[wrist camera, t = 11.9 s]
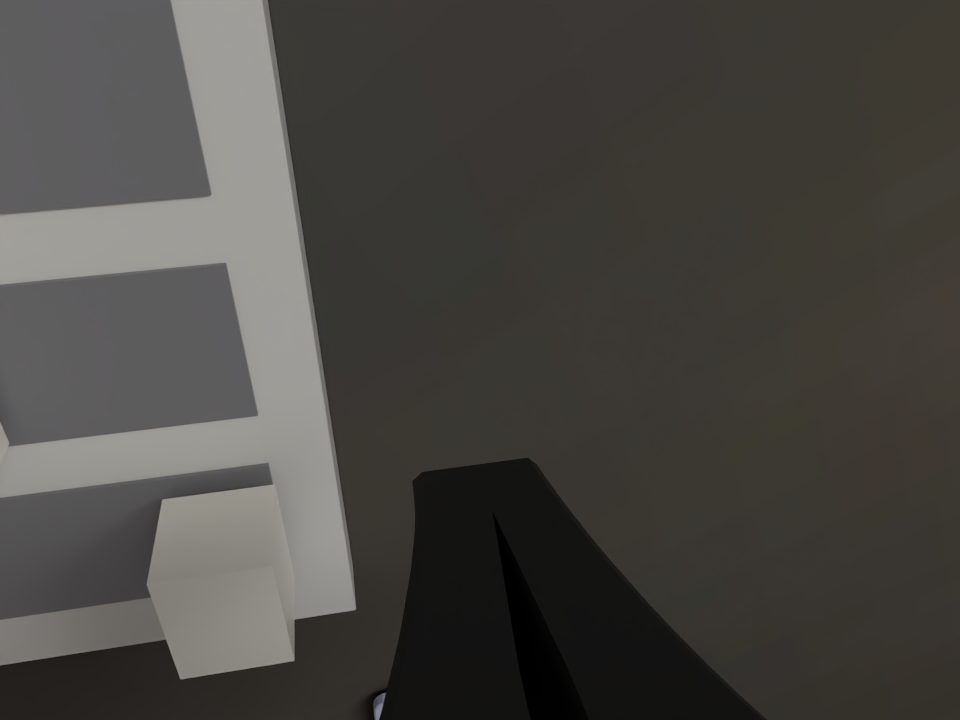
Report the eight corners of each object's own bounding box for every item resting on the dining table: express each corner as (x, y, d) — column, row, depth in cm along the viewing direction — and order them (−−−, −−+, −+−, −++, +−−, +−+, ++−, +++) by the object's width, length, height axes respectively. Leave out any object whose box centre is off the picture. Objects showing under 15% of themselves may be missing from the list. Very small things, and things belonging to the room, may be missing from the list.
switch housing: (353, 566, 23) (356, 615, 22) (-37, 624, 22) (-59, 680, 20) (242, -161, 14) (237, -155, 12) (-465, -139, 12) (-562, -129, 11)
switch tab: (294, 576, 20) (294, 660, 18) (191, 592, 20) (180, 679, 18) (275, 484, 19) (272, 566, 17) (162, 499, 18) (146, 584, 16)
